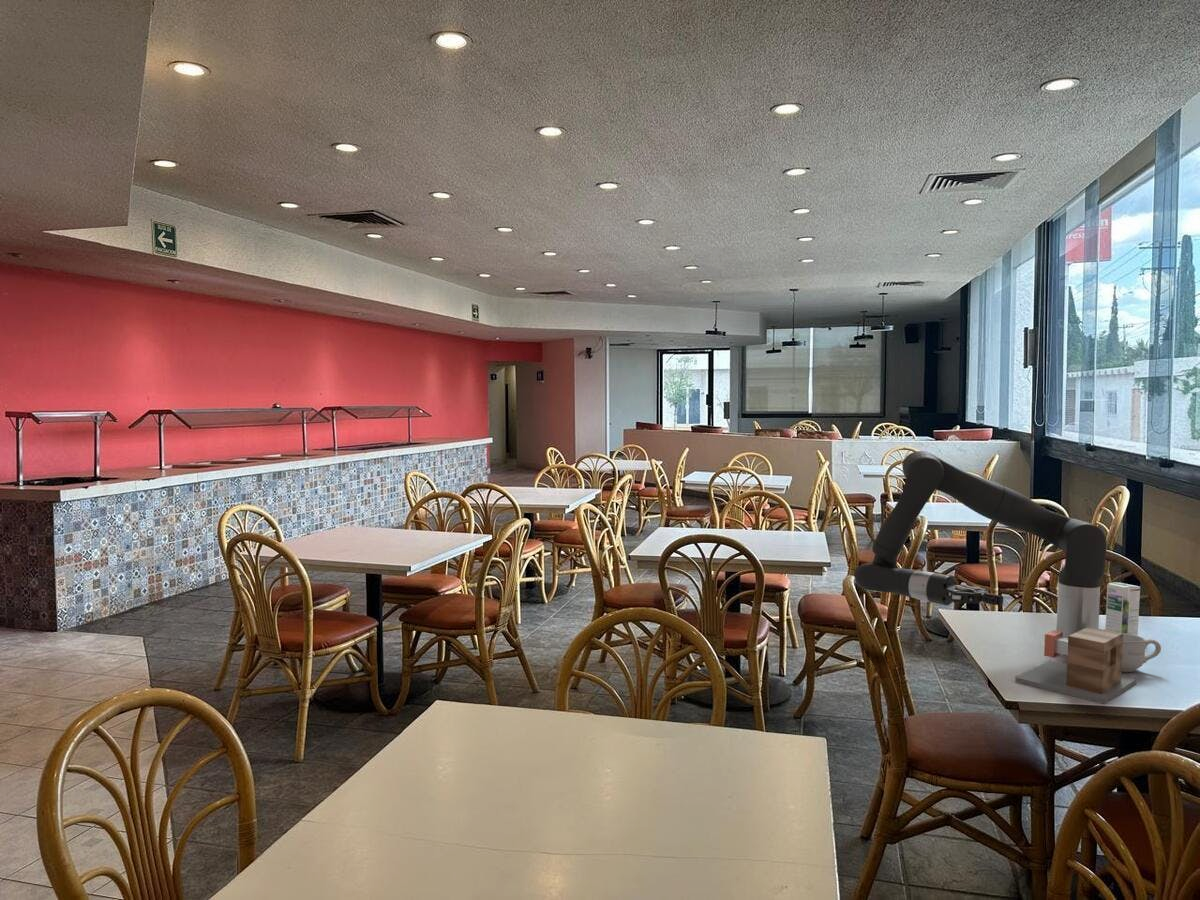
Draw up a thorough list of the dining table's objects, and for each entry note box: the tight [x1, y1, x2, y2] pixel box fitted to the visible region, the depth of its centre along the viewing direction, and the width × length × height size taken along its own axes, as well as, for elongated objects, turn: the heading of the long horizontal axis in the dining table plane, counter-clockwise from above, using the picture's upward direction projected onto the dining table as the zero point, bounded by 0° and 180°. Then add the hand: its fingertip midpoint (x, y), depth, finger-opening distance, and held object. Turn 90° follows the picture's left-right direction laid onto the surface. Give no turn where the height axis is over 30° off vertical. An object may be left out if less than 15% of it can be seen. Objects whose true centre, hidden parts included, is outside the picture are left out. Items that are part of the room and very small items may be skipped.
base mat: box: [1014, 659, 1137, 705], centre depth 183 cm, size 20×18×1 cm
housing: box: [1066, 627, 1123, 694], centre depth 179 cm, size 12×7×12 cm, turn 131°
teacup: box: [1121, 633, 1162, 673], centre depth 193 cm, size 14×11×8 cm
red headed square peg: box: [1043, 629, 1068, 659], centre depth 183 cm, size 5×9×5 cm, turn 41°
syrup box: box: [1104, 581, 1141, 636], centre depth 221 cm, size 6×6×14 cm
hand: (1001, 600), depth 194 cm, fingers closed
